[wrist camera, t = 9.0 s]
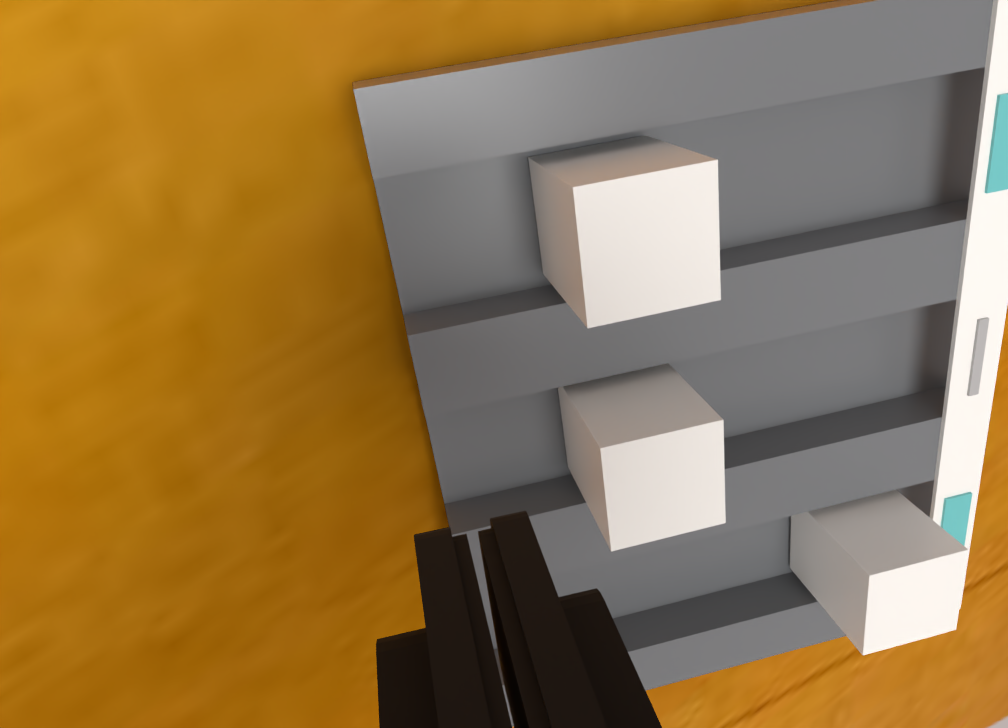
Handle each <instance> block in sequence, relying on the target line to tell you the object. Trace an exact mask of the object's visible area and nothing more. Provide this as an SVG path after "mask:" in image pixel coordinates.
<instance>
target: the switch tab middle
mask: <svg viewBox="0 0 1008 728" xmlns="http://www.w3.org/2000/svg"><path fill="white" fill-rule="evenodd" d="M558 393H559V401H560V408H561V416H562V424H563V432H564V439H565V447H566V455H567V463H568V468H569V470H570V472H571V474H572V476H573V478H574V480H575V482H576V484H577V486H578V488H579V490H580V492H581V493H582V495H583V497H584V499H585V501H586V503H587V505H588V507H589V509H590V511H591V513H592V515H593V517H594V519H595V521H596V523H597V525H598V527H599V529H600V531H601V533H602V535H603V537H604V539H605V540H606V542H607V544H608V546H609V548H610V550H611V551H615V550H619V549H624V548H628V547H632V546H636V545H640V544H644V543H648V542H652V541H656V540H660V539H664V538H668V537H672V536H676V535H680V534H684V533H688V532H692V531H696V530H700V529H704V528H708V527H712V526H716V525H720V524H724V523H726V514H725V468H724V421H723V419H722V418H721V417H720V416H719V415H718V414H717V413H716V412H715V411H714V410H713V409H712V407H711V406H710V405H709V404H708V403H707V402H706V401H705V400H704V399H703V398H702V397H701V396H700V395H699V394H698V393H697V392H696V391H695V390H694V389H693V388H692V387H691V386H690V385H689V384H688V383H687V382H686V381H685V380H684V379H683V378H682V377H681V376H680V375H679V374H678V373H677V372H676V371H675V370H674V369H673V368H672V367H671V366H670V365H669V364H668V363H667V364H662V365H658V366H653V367H649V368H644V369H640V370H635V371H630V372H626V373H621V374H617V375H612V376H608V377H603V378H599V379H594V380H590V381H585V382H581V383H576V384H572V385H567V386H563V387H558Z"/></svg>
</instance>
